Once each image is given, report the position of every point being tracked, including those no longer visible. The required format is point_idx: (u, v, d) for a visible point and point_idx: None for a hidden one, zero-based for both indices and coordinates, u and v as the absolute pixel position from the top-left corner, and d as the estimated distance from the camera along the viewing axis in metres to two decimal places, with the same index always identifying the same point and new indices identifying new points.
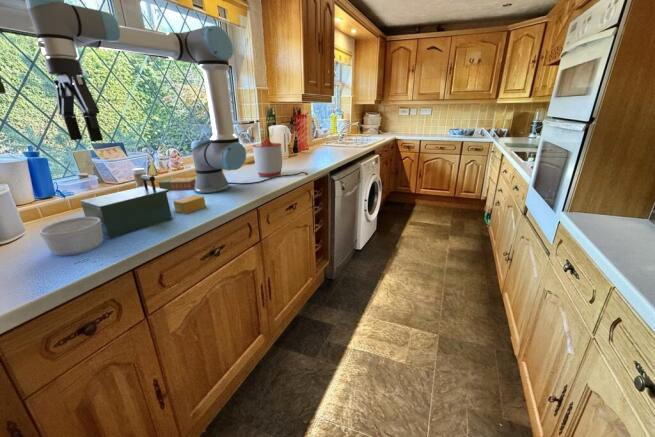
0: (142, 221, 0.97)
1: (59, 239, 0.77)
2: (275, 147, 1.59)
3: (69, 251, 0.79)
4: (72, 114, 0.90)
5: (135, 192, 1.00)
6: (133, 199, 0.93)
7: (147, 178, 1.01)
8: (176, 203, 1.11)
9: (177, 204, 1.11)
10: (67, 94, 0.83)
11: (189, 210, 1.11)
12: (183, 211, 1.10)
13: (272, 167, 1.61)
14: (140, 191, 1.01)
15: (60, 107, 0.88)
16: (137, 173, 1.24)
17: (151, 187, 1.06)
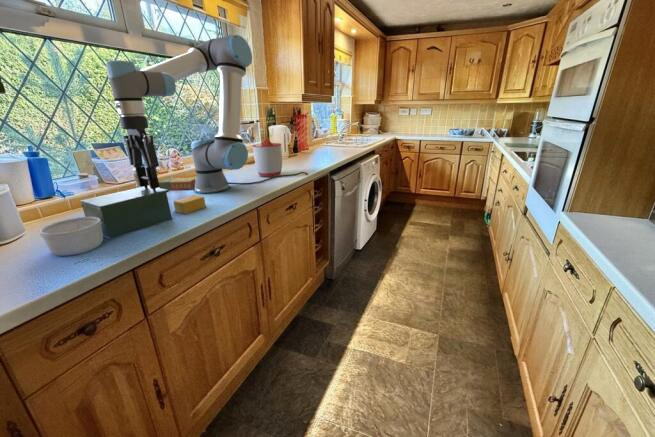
0: (142, 221, 0.97)
1: (59, 239, 0.77)
2: (275, 147, 1.59)
3: (69, 251, 0.79)
4: (141, 163, 1.03)
5: (135, 192, 1.00)
6: (133, 199, 0.93)
7: (147, 178, 1.01)
8: (176, 203, 1.11)
9: (177, 204, 1.11)
10: (135, 144, 0.98)
11: (189, 210, 1.11)
12: (183, 211, 1.10)
13: (272, 167, 1.61)
14: (140, 191, 1.01)
15: (131, 158, 1.02)
16: None
17: None
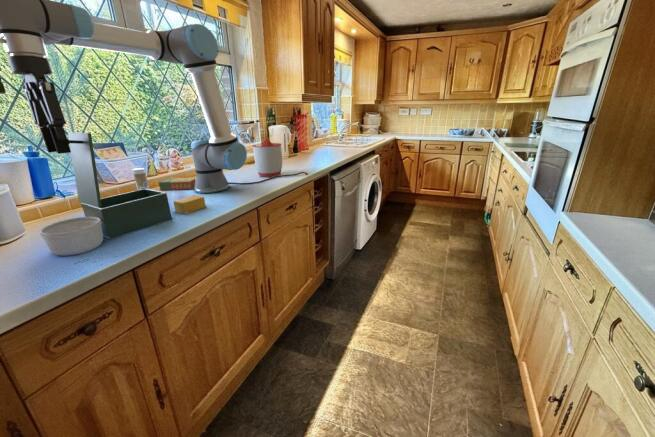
0: (142, 221, 0.97)
1: (59, 239, 0.77)
2: (275, 147, 1.59)
3: (69, 251, 0.79)
4: (49, 123, 0.82)
5: (80, 159, 0.86)
6: (95, 175, 0.84)
7: None
8: (176, 203, 1.11)
9: (177, 204, 1.11)
10: (34, 95, 0.76)
11: (189, 210, 1.11)
12: (183, 211, 1.10)
13: (272, 167, 1.61)
14: (80, 153, 0.86)
15: (34, 115, 0.80)
16: (137, 173, 1.24)
17: (74, 135, 0.86)
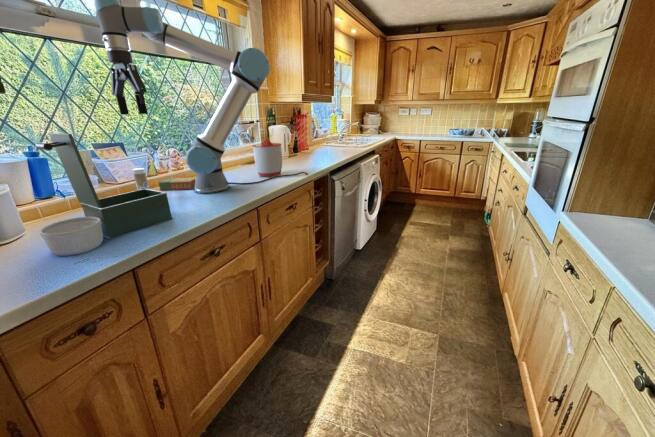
0: (142, 221, 0.97)
1: (59, 239, 0.77)
2: (275, 147, 1.59)
3: (69, 251, 0.79)
4: (122, 94, 1.16)
5: (68, 160, 0.84)
6: (87, 177, 0.82)
7: (46, 149, 0.78)
8: None
9: None
10: (121, 78, 1.09)
11: None
12: None
13: (272, 167, 1.61)
14: (66, 155, 0.83)
15: (113, 88, 1.14)
16: (137, 173, 1.24)
17: (55, 136, 0.82)
